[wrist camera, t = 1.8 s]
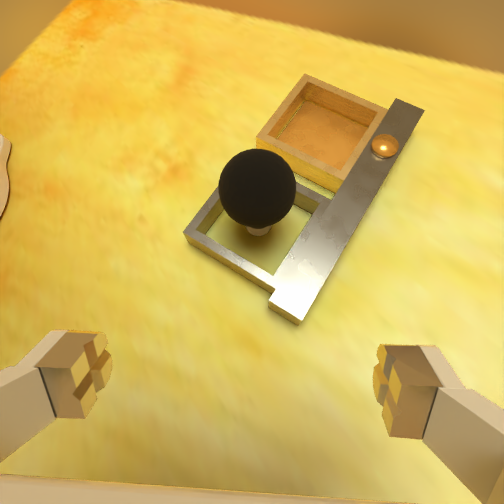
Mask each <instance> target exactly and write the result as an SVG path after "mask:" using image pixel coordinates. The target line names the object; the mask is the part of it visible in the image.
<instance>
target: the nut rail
mask: <svg viewBox="0 0 504 504" xmlns="http://www.w3.org/2000/svg"><path fill="white" fill-rule="evenodd" d="M304 100H306V101H305V102H304ZM303 102H304V103H303ZM302 103H303V105H302V106H301V104H302ZM312 103H313V104H312ZM300 106H301V108H300V109H299V110H298V108H299V107H300ZM323 108H324V109H323ZM297 110H298V112H297V113H296V111H297ZM424 111H425V110H423V109H420V108H418V107H416V106H413V105H411V104H408V103H406V102H404V101H401V100H399V99H397V98H396V99H395V100H394V102H393V104H392V105H391V107H390V108H389V110H388V109H385V108H383V107H381V106H378V105H376V104H374V103H371V102H369V101H367V100H365V99H362V98H360V97H358V96H355V95H353V94H351V93H348V92H346V91H344V90H341V89H339V88H337V87H335V86H332V85H330V84H328V83H325V82H323V81H321V80H318V79H316V78H314V77H312V76H309V75H307V74H304V75H303V76H302V78H301V79H300V80H299V82H298V83H297V84H296V85H295V87H294V88H293V89H292V91H291V92H290V93H289V95H288V96H287V97H286V98H285V100H284V101H283V102H282V104H281V105H280V106H279V108H278V109H277V110H276V112H275V113H274V114H273V115H272V117H271V118H270V119H269V121H268V122H267V123H266V125H265V126H264V127H263V128H262V130H261V131H260V132H259V134H258V135H257V136H256V149H265V150H269V151H272V152H274V153H276V154H278V155H279V156H281V157H282V158H283V159H284V160H285V161H286V162H287V163H288V164H289V166H290V168H291V169H292V171H293V172H295V173H297V174H299V175H301V176H303V177H305V178H307V179H309V180H311V181H313V182H314V183H316V184H318V185H320V186H322V187H324V188H326V189H328V190H330V191H332V192H334V193H336V194H335V196H334V197H333V199H332V200H330V199H328V198H326V197H324V196H322V195H320V194H318V193H316V192H315V191H313V190H311V189H309V188H307V187H305V186H303V185H301V184H299V183H297V182H296V196H295V200H294V203H293V204H295V205H296V206H298V207H300V208H302V209H304V210H306V211H308V212H310V213H311V214H313V215H312V216H311V218H310V219H309V221H308V223H307V224H306V226H305V227H304V229H303V230H302V232H301V233H300V235H299V237H298V238H297V240H296V241H295V243H294V244H293V246H292V248H291V249H290V251H289V252H288V254H287V255H286V257H285V258H284V260H283V262H282V263H281V265H280V266H279V268H278V269H277V271H276V273H275V274H274V276H272V275H271V274H269V273H267V272H266V271H264V270H262V269H261V268H259V267H257V266H256V265H254V264H252V263H251V262H249V261H247V260H246V259H244V258H242V257H241V256H239V255H237V254H236V253H234V252H232V251H230V250H229V249H227V248H225V247H224V246H222V245H220V244H219V243H217V242H215V241H214V240H212V239H210V238H209V237H207V236H205V234H206V232H207V231H208V230H209V228H210V227H211V226H212V224H213V223H214V222H215V220H216V219H217V218H218V216H219V215H220V214H221V212H222V211H223V209H224V208H223V206H222V204H221V201H220V197H219V190H218V187H217V188H216V190H215V191H214V192H213V193H212V195H211V196H210V197H209V199H208V200H207V201H206V203H205V204H204V205H203V207H202V208H201V209H200V210H199V212H198V213H197V214H196V216H195V217H194V218H193V220H192V221H191V222H190V223H189V225H188V226H187V227H186V229H185V230H184V231H183V233H184V235H185V237H186V239H187V241H188V242H189V243H190V244H191V245H193V246H195V247H196V248H198V249H200V250H201V251H203V252H205V253H206V254H208V255H209V256H211V257H213V258H214V259H216V260H218V261H219V262H221V263H222V264H224V265H226V266H227V267H229V268H231V269H232V270H234V271H236V272H237V273H239V274H240V275H242V276H244V277H245V278H247V279H249V280H250V281H252V282H253V283H255V284H257V285H258V286H260V287H262V288H263V289H265V290H267V291H268V292H270V293H271V294H272V296H271V297H270V299H269V305H268V307H269V308H270V309H272V310H273V311H275V312H277V313H278V314H280V315H281V316H283V317H285V318H286V319H288V320H289V321H291V322H293V323H294V324H296V325H297V326H299V324H300V323H301V321H302V320H303V318H304V316H305V315H306V313H307V311H308V309H309V308H310V306H311V304H312V303H313V301H314V299H315V297H316V296H317V294H318V292H319V291H320V289H321V287H322V285H323V284H324V282H325V280H326V279H327V277H328V275H329V273H330V272H331V270H332V268H333V267H334V265H335V263H336V261H337V260H338V258H339V256H340V255H341V253H342V251H343V249H344V248H345V246H346V244H347V243H348V241H349V239H350V237H351V236H352V234H353V232H354V231H355V229H356V227H357V225H358V224H359V222H360V220H361V219H362V217H363V215H364V214H365V212H366V210H367V208H368V207H369V205H370V203H371V202H372V200H373V198H374V196H375V195H376V193H377V191H378V190H379V188H380V186H381V184H382V183H383V181H384V179H385V178H386V176H387V174H388V172H389V171H390V169H391V167H392V166H393V164H394V162H395V160H396V159H397V157H398V155H399V154H400V152H401V150H402V148H403V147H404V145H405V143H406V142H407V140H408V138H409V136H410V135H411V133H412V131H413V130H414V128H415V126H416V124H417V123H418V121H419V119H420V118H421V116H422V114H423V113H424ZM295 113H296V114H295ZM334 113H335V114H334ZM294 114H295V116H294V117H293V115H294ZM292 117H293V118H292ZM291 118H292V120H291V121H290V119H291ZM345 118H346V119H345ZM289 121H290V122H289ZM288 122H289V124H288V125H287V123H288ZM356 123H357V124H356ZM286 125H287V126H286ZM285 126H286V128H285V129H284V127H285ZM367 128H368V129H367ZM283 129H284V130H283ZM282 130H283V132H282V133H281V131H282ZM280 133H281V135H280V136H279V137H278V135H279V134H280ZM277 137H278V139H276V138H277Z"/></svg>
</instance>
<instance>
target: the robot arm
mask: <svg viewBox="0 0 504 504" xmlns="http://www.w3.org/2000/svg"><path fill="white" fill-rule="evenodd" d="M10 148H11V143H10V141H9V140H8V139H7V138H5V137H4V136H3V135H1V134H0V216H1V214H2V212H3V210H4V208H5V205H6V202H7V198H8V192H9V180H8V175H7V170H6V162H7V159H8V156H9V153H10ZM107 344H108V340H107V337H106V334H104V333H103V332H92V331H77V330H71V331H70V330H57V329H56V330H53V331H50V332H49V333H48V334H47V335H46V336H45V337H44V338H43V339H42V340H41V341H40V342H39V343H38V344H37V345H36V346H35V347H34V348H33V349H32V350H31V351H30V352H29V353H28V354H27V355H26V356H25V357H24V358H23V359H22V360H21V361H20V362H19V363H18V364H17V365H16V366H9V367H7V368H5V369H3V370H1V371H0V462H2V461H3V460H4V459H5V458H7V457H8V456H9V455H11V454H12V453H13V452H14V451H16V450H17V449H18V448H20V447H21V446H22V445H23V444H25V443H26V442H27V441H29V440H30V439H31V438H32V437H34V436H35V435H36V434H38V433H39V432H40V431H41V430H43V429H44V428H45V427H47V426H48V425H49V424H50V423H52V422H53V421H54V420H55V419H56V418H80V419H85V418H86V417H87V415H88V413H89V412H90V410H91V409H92V407H93V405H94V404H95V402H96V400H97V396H96V392H98V391H99V390H101V389H102V388H104V387H105V386H106V384H107V382H108V380H109V378H110V375H111V371H112V358H111V355H110V354H109V353H108V352H107V351H106V350H105V347H106V346H107ZM377 358H378V360H379V363H378V364H377V365H376V366H375V367H374V372H373V388H374V393H375V397H376V400H377V402H378V403H380V404H381V405H382V406H383V411H382V417H383V420H384V423H385V426H386V429H387V432H388V435H389V437H399V438H411V439H422V440H423V442H424V443H425V444H426V445H427V446H428V448H429V449H430V450H431V451H432V452H433V453H434V454H435V455H436V456H437V457H438V458H439V459H440V460H441V461H442V462H443V463H444V464H445V465H446V466H447V467H448V468H449V469H450V470H451V471H452V472H453V474H454V475H455V476H456V477H457V478H458V479H459V480H460V481H461V482H462V483H463V484H464V485H465V486H466V487H467V488H468V489H469V490H470V491H471V492H472V493H473V494H474V495H475V496H476V497H477V498H478V499H479V501H480V502H481V503H482V504H504V409H502V408H501V407H499V406H498V405H496V404H495V403H493V402H491V401H490V400H488V399H487V398H485V397H484V396H482V395H481V394H479V393H477V392H476V391H474V390H473V389H466V388H465V386H464V385H463V383H462V382H461V380H460V379H459V377H458V376H457V374H456V373H455V371H454V370H453V368H452V367H451V366H450V364H449V363H448V361H447V360H446V358H445V357H444V355H443V354H442V352H441V351H440V349H439V348H438V347H437V346H435V345H395V344H380V345H379V347H378V350H377ZM0 504H416V503H402V502H388V501H374V500H360V499H346V498H332V497H318V496H303V495H289V494H275V493H261V492H247V491H233V490H219V489H205V488H191V487H177V486H163V485H149V484H135V483H121V482H107V481H93V480H79V479H65V478H51V477H37V476H23V475H9V474H0Z"/></svg>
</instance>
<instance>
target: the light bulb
mask: <svg viewBox="0 0 504 504" xmlns="http://www.w3.org/2000/svg"><path fill="white" fill-rule="evenodd" d="M218 190H219V197H220V201H221V204H222V206H223V208H224V209H225V211H226V212H227V214H228V215H229V216H230V217H231V218H232V219H233V220H235V221H236V222H238V223H240V224H242V225H244V226H246V229H247V230H248V232H250V233H251V234H252V235H255V236H262V235H265V234H266V233H268V232H269V230H270V229H271V226H272V225H273V224H275V223H277V222H278V221H280V220H281V219H282V218H284V217H285V216H286V214H287V213H288V212H289V210H290V209H291V207H292V205H293V203H294V200H295V196H296V180H295V177H294V174H293V171H292V169H291V168H290V166H289V164H288V163H287V162H286V161H285V160H284V159H283V158H282V157H281V156H279V155H278V154H276V153H274V152H272V151H269V150H265V149H250V150H246V151H243V152H240V153H239V154H237V155H236V156H234V157H233V158H232V159H231V160H230V161H229V162H228V163H227V164H226V166H225V167H224V169H223V171H222V173H221V176H220V180H219V185H218Z"/></svg>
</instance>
